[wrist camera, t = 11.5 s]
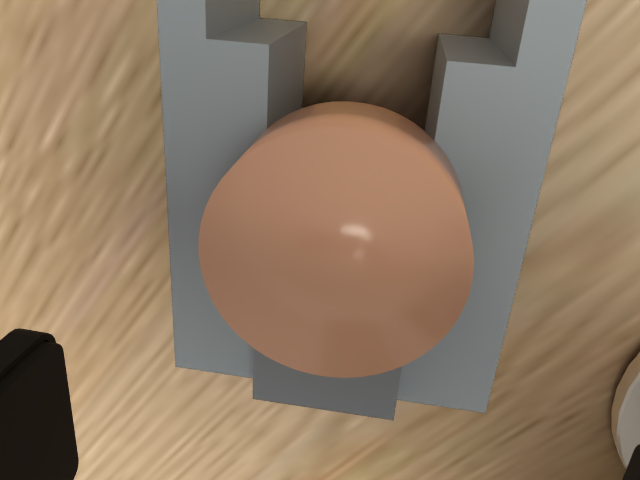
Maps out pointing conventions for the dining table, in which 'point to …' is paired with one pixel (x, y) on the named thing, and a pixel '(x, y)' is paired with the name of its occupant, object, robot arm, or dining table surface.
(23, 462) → the robot arm
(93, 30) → the dining table surface
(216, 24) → the grey slotted stand
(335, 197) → the peg
